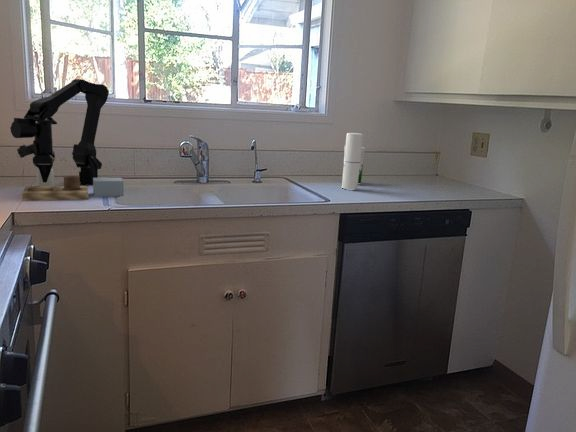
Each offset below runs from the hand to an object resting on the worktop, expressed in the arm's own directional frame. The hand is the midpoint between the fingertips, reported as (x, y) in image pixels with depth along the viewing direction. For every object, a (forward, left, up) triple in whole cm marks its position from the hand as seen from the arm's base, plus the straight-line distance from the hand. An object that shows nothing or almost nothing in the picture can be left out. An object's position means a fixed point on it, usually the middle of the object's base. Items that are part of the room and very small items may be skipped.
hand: (45, 180), depth 179 cm
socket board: (-4, +12, -4) cm, 13 cm away
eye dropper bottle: (0, 0, -4) cm, 4 cm away
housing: (-21, +10, -4) cm, 23 cm away
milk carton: (-133, -8, -4) cm, 133 cm away
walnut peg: (-9, +12, -4) cm, 15 cm away
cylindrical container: (-124, +6, -4) cm, 124 cm away
